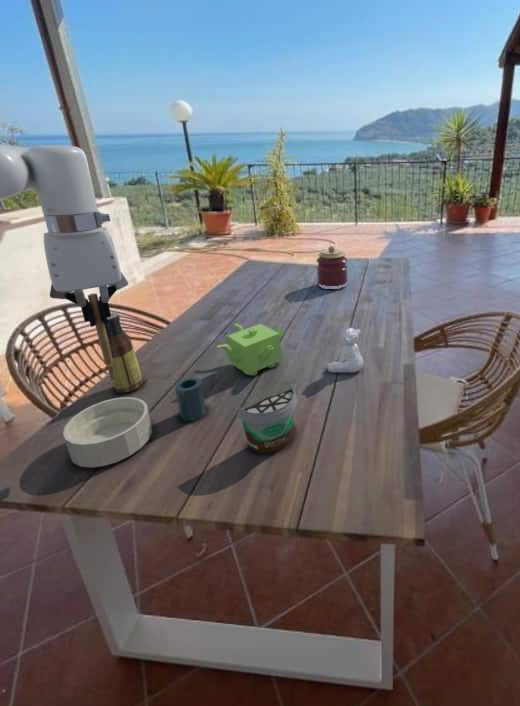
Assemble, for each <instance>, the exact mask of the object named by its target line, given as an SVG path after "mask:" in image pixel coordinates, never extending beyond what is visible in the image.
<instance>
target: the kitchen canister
mask: <svg viewBox="0 0 520 706" xmlns="http://www.w3.org/2000/svg"><path fill="white" fill-rule="evenodd" d="M345 256H346V253H345V252H344V251H342V250H341V249H337V248H335V246H334V245H330V246H329V247H328V249H323V250H322V251H320V252H319V253H318V257H317V258H316V262H317V267H316V269H317V284H318V283H319V284H321V285H325V286H339V285H343V284H345V283H346V282H347V283H348V265H347V261H348V258H347V257H345Z"/></svg>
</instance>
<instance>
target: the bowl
mask: <svg viewBox="0 0 520 706" xmlns="http://www.w3.org/2000/svg"><path fill="white" fill-rule="evenodd" d="M149 411H150V410H149V406H148V404H147V403H146V402H145V400H143V399H141V398H138V397H131V396H122V397H115V398H110V399H106V400H103V401H100V402H97V403H94V404H92V405H90V406H88V407H86V408H85V409H82V410H81V411H79V412H78V413H76V414H75V415H74V416H73V417H71V418H70V420H69V421H68V422H67V423H66V424H65V425H64V429H63V432H62V435H63V439H64V442H65V446H66V448H67V451H68V454H69V458H70V460H71V462H72V463H73V464H75V465H76V466H78V467H81V468H88V469H89V468H90V469H93V468H100V467H105V466H109V465H113V464H115V463H118V462H120V461H123V460H124V459H126V458H128V457H130V456H132V455H134V454H135V453H136V452H138V451H139V450H140V449H142V448H143V446H145V444H147V443H148V441H149V440H150V438H151V436H152V434H153V425H152V421H151V415H150V412H149Z"/></svg>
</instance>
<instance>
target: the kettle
mask: <svg viewBox="0 0 520 706" xmlns="http://www.w3.org/2000/svg"><path fill="white" fill-rule="evenodd" d="M234 326H235V328H236V330H237V331H236V332H233V333H231V334H228V335H226V340H227V343H222V344H219V345H217V346H216V348H219V349H223V350H224V351H225V353H226V355H227V357H228V358H229V363H230V364H232V365H233V366H234V367H236V368H237V369H238V370H240V371H241V372H243V373H244V374H245V375H247V376H251V377H252V376H256V375H258V371H260V370H262V369H265V368H269V369H271V368H275V366H276V363H278V362H280V361H282V360H283V355H282V343H281V339H282V337H283V336H284V335H285V334H286V332H285V331H284V330H283V329H281V328H278V329H277V330H274V329H272V328H271V327H269V326H267V325H264V324H263V323H259V324H256V325H253V326H251V327H248V328H247V327H246V328H245V329H244V328H243V326H242V324H240V323H239V322H236V323H234Z"/></svg>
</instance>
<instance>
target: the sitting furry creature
mask: <svg viewBox="0 0 520 706" xmlns="http://www.w3.org/2000/svg"><path fill="white" fill-rule="evenodd" d="M359 335H361V329H354V328H353V327H350V328H347V329H346V330H345V332H343V335H342V339H341V343H342V348H341V351H340V355H339V359H338V361H332V362H330V363H328V365H327V371H328V372H329V373H333V374H334V373H338V374H339V373H341V374H343V373H344V374H347V373H350V374H354V373H357V372H359V371H360V370H361V369H362V368H363V367H364V361H365V360H364V358H363V356H362V354H361V353H360V349H359V346H358V344H357V342H358V340H359Z"/></svg>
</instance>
